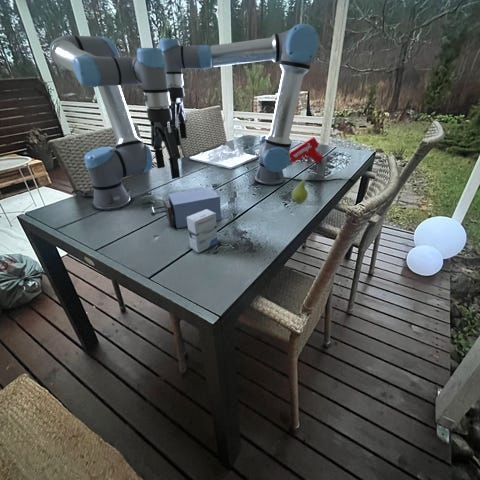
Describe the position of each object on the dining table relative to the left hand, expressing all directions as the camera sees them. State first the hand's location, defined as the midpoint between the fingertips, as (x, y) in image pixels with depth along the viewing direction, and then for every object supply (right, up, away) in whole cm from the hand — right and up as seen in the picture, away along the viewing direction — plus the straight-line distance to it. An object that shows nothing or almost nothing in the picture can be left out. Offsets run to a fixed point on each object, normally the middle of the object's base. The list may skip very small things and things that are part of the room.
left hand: (168, 172), depth 98 cm
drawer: (+3, -16, +10) cm, 19 cm away
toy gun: (+67, +25, +74) cm, 103 cm away
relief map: (+15, +29, +81) cm, 88 cm away
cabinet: (+8, -15, +12) cm, 21 cm away
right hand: (0, +19, +22) cm, 30 cm away
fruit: (+52, -7, +24) cm, 58 cm away
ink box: (+14, -26, -5) cm, 30 cm away
